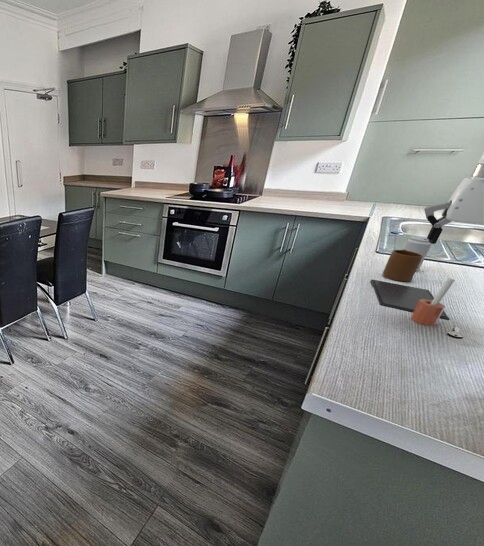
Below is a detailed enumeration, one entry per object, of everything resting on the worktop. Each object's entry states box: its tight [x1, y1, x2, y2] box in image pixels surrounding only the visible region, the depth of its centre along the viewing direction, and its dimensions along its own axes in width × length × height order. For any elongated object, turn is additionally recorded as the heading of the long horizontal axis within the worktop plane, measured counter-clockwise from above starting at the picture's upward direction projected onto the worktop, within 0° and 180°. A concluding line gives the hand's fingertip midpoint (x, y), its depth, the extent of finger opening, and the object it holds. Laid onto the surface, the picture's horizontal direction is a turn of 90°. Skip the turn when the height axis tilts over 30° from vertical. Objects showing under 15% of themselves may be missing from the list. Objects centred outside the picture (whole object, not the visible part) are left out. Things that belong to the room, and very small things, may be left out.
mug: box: [382, 248, 422, 283], centre depth 111 cm, size 12×8×9 cm, turn 141°
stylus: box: [431, 277, 456, 305], centre depth 80 cm, size 1×1×13 cm
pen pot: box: [409, 299, 446, 327], centre depth 82 cm, size 5×5×6 cm
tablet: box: [370, 278, 451, 321], centre depth 96 cm, size 14×22×1 cm, turn 144°
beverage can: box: [403, 236, 432, 271], centre depth 117 cm, size 6×6×12 cm
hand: (459, 246), depth 76 cm, fingers open, 9 cm apart
